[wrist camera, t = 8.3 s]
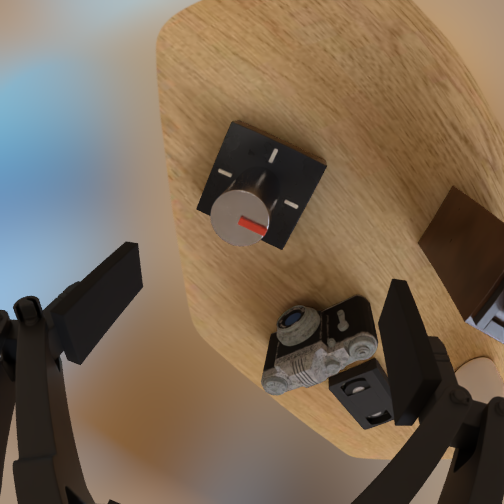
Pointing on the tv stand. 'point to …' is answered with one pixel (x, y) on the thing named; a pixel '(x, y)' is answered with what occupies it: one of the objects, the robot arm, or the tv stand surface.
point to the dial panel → (275, 159)
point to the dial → (246, 207)
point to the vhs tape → (364, 393)
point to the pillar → (469, 260)
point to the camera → (318, 344)
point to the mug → (481, 379)
